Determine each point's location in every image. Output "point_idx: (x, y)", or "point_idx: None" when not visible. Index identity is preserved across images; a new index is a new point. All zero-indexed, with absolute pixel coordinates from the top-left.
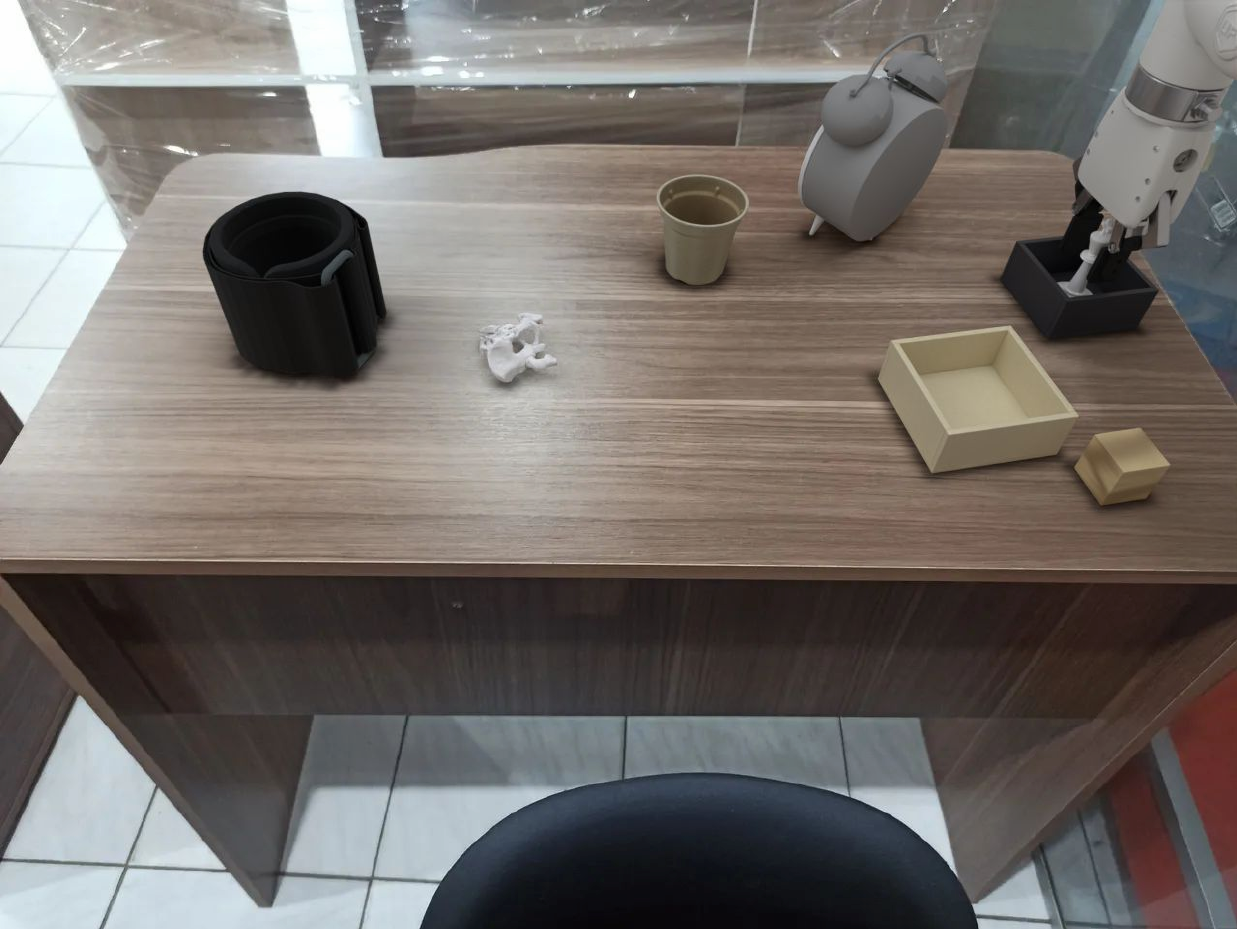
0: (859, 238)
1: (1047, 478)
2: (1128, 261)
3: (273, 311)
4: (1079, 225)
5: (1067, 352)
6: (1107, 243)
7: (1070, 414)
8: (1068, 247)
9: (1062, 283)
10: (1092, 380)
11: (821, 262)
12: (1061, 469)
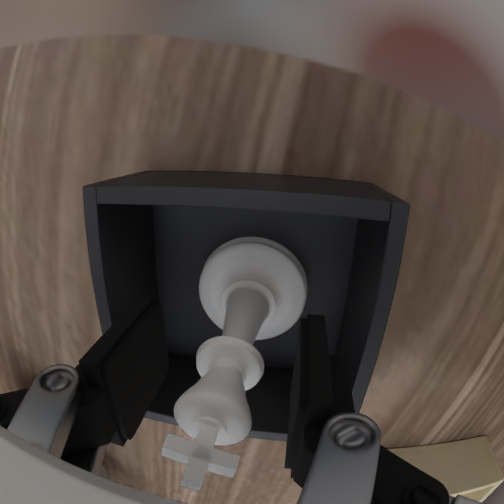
0: (105, 473)
1: (493, 446)
2: (238, 200)
3: None
4: (134, 420)
5: (378, 358)
6: (251, 424)
7: (497, 484)
8: (163, 368)
9: (210, 299)
10: (444, 354)
11: (129, 478)
12: (497, 434)
